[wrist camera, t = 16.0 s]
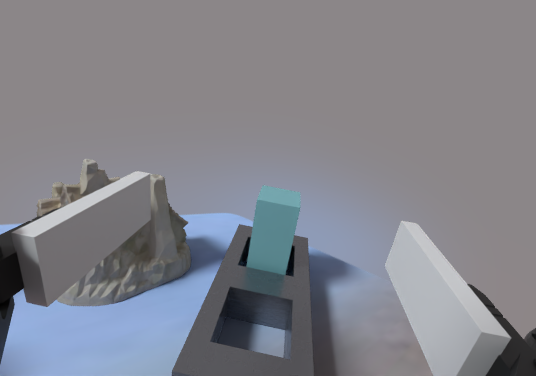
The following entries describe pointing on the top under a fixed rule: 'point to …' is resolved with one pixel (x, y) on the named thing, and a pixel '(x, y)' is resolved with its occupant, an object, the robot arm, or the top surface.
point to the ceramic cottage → (126, 245)
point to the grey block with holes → (253, 316)
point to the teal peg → (273, 229)
